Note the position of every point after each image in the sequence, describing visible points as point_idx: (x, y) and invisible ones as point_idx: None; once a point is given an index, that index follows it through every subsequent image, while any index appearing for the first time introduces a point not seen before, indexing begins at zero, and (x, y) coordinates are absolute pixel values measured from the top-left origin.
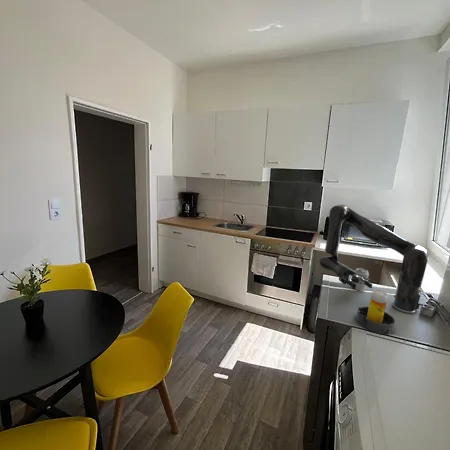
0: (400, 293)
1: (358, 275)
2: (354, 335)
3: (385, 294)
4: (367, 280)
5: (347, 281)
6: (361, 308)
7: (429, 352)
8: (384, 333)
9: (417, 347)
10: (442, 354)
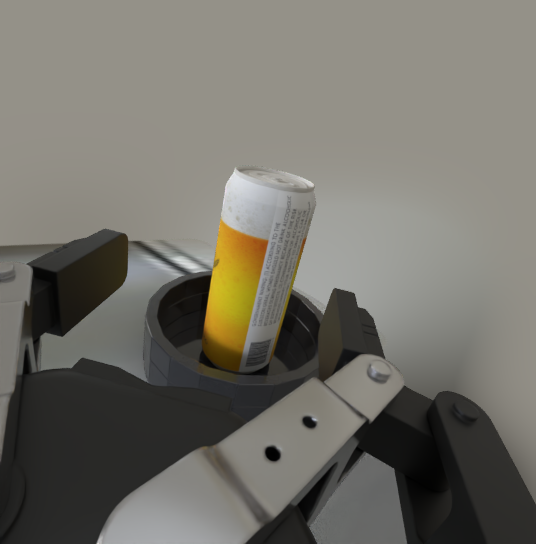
0: None
1: None
2: (382, 346)
3: (250, 170)
4: (5, 265)
5: (413, 392)
6: (266, 377)
7: (195, 252)
8: None
9: (206, 265)
10: (168, 242)
